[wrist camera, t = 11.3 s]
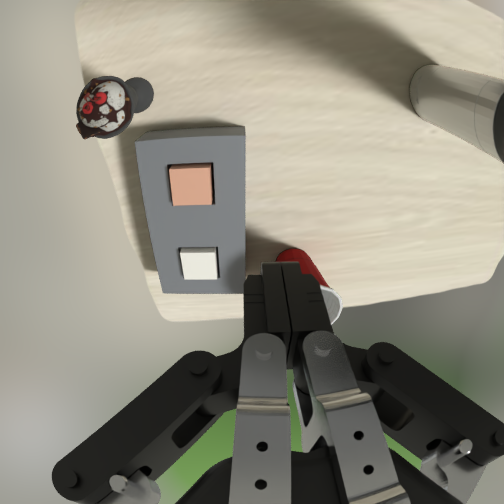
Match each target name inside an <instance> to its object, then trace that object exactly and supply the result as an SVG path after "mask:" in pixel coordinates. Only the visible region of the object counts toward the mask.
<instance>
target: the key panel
mask: <svg viewBox="0 0 504 504" xmlns="http://www.w3.org/2000/svg"><path fill="white" fill-rule="evenodd" d="M135 148H136V155H137V163H138V170H139V176H140V183H141V189H142V195H143V201H144V207H145V212H146V218H147V223H148V228H149V233H150V238H151V243H152V248H153V252H154V257H155V261H156V266H157V270H158V274H159V279H160V283H161V287H162V291H163V293H177V294H244V288H243V284H244V282H245V127H207V128H188V129H173V130H161V131H151V132H146V133H145V134H144V135H142V136H141V137H140V138H139V139H137V140H136V141H135ZM205 162H214V185H215V189H214V195H213V200H212V205H179V206H173V200H172V191H171V183H170V174H169V169H170V167H171V166H172V164H182V163H205ZM182 247H218V254H219V258H218V261H219V263H218V274H217V279H210V280H188V279H184V274H183V268H182V262H181V256H180V251H181V248H182Z"/></svg>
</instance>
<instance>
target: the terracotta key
mask: <svg viewBox="0 0 504 504" xmlns="http://www.w3.org/2000/svg"><path fill="white" fill-rule="evenodd" d="M169 174H170V183H171V191H172V200H173V206H179V205H212V200H213V195H214V176H213V162H205V163H182V164H172V166H171V167H170V169H169Z"/></svg>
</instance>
